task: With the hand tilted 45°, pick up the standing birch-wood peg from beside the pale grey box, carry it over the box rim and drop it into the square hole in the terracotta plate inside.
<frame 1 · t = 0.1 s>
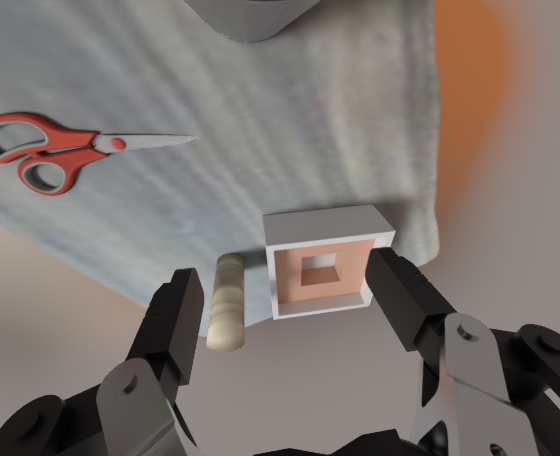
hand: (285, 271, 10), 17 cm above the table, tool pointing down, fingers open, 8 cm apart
scissors: (104, 134, 22), on the table
peg: (230, 263, 34), on the table
box: (315, 250, 34), on the table
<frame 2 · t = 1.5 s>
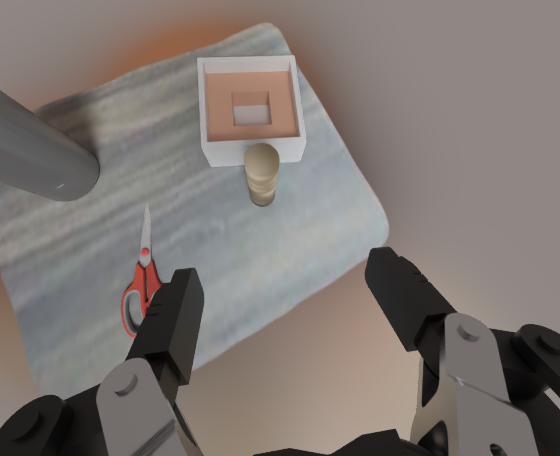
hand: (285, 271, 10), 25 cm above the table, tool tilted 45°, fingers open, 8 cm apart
scissors: (143, 261, 34), on the table
peg: (262, 195, 37), on the table
box: (252, 124, 39), on the table
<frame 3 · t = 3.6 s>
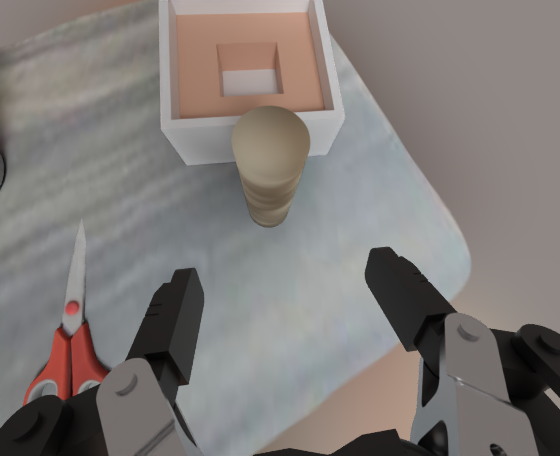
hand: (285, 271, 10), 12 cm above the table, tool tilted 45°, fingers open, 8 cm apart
scissors: (73, 322, 20), on the table
peg: (268, 208, 23), on the table
box: (252, 99, 25), on the table
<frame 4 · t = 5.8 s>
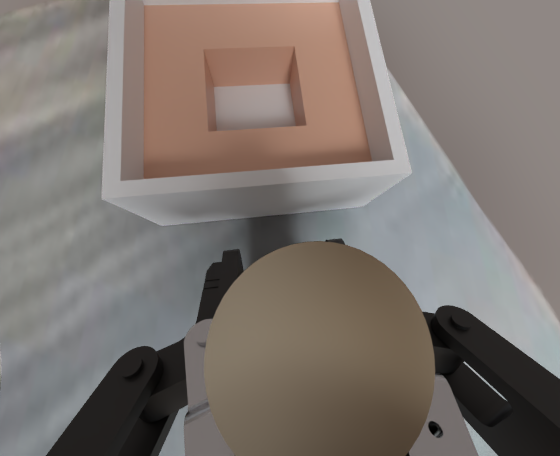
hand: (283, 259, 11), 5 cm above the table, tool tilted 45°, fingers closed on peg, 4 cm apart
peg: (280, 291, 16), on the table, touching gripper
box: (256, 126, 18), on the table
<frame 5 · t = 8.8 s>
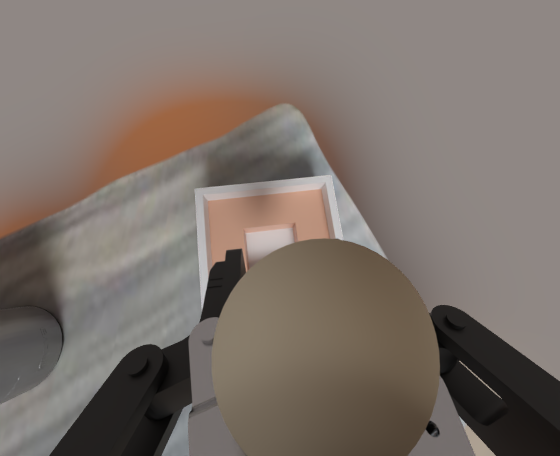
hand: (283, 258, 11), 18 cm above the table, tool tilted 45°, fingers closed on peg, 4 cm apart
peg: (281, 291, 16), point 13 cm above the table, touching gripper
box: (272, 254, 29), on the table
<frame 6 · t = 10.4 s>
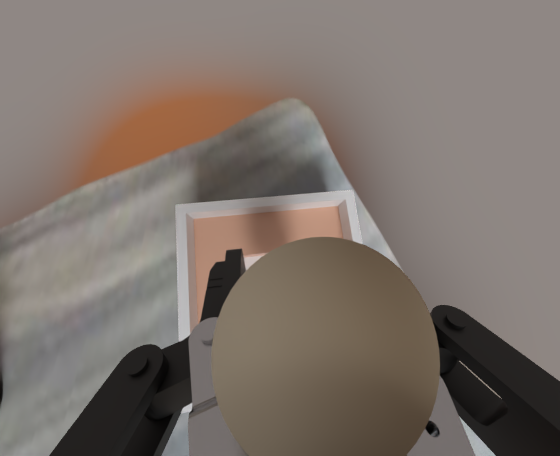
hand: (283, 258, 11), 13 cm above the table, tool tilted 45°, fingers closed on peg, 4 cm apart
peg: (281, 291, 16), point 8 cm above the table, touching gripper
box: (273, 284, 23), on the table
when the fingers open (9 cm above the table, at t = 11.5 s): peg drops 3 cm, resting on box.
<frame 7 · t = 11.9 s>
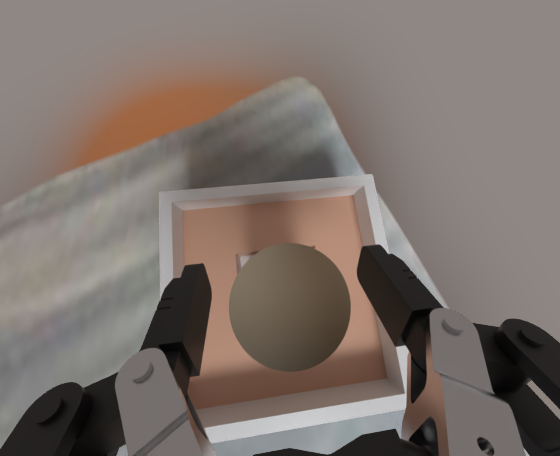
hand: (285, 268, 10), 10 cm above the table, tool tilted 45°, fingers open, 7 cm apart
peg: (277, 289, 19), point 1 cm above the table, touching box
box: (277, 287, 20), on the table
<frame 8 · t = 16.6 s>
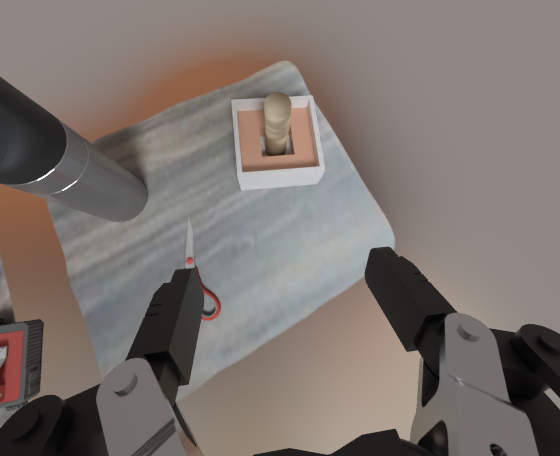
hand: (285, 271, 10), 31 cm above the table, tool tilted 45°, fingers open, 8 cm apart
scissors: (188, 269, 40), on the table
peg: (275, 149, 44), point 1 cm above the table, touching box
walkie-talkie: (15, 380, 35), on the table
box: (275, 152, 45), on the table
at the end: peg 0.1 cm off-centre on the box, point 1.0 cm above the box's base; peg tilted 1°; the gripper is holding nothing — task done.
